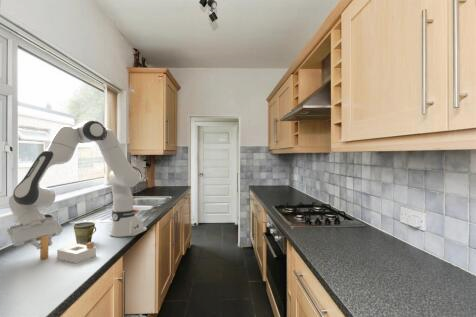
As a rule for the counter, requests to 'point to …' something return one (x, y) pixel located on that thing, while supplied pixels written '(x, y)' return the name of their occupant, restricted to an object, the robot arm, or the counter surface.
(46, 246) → the pin
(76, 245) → the housing
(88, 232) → the ceramic cup
